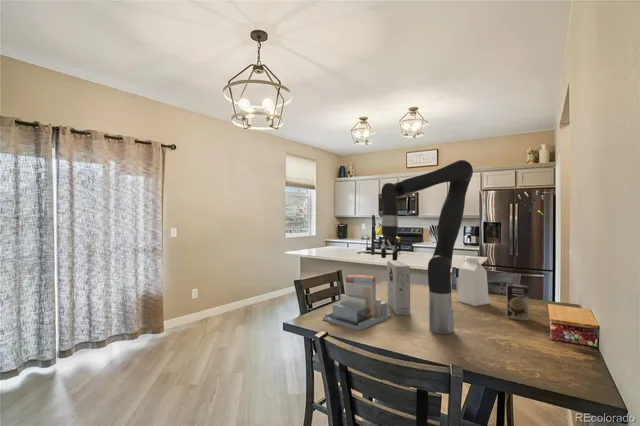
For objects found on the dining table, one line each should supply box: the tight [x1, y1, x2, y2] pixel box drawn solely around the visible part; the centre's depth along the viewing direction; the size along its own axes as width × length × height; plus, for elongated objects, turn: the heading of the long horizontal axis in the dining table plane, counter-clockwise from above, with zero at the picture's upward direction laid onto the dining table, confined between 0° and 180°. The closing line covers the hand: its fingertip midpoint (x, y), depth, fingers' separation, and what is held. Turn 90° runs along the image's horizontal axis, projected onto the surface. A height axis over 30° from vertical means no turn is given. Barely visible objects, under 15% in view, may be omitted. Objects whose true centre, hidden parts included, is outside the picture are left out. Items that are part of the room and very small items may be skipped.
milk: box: [456, 256, 490, 307], centre depth 186 cm, size 12×12×26 cm
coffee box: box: [506, 283, 530, 321], centre depth 157 cm, size 9×6×16 cm
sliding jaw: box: [332, 293, 366, 326], centre depth 153 cm, size 19×7×11 cm, turn 46°
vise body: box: [322, 298, 392, 332], centre depth 157 cm, size 22×26×9 cm
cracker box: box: [345, 273, 377, 320], centre depth 159 cm, size 14×6×21 cm, turn 65°
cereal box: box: [386, 259, 411, 315], centre depth 174 cm, size 22×8×25 cm, turn 179°
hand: (388, 259), depth 150 cm, fingers open, 8 cm apart
